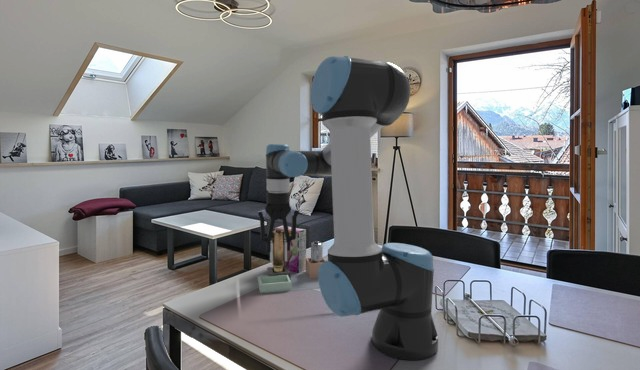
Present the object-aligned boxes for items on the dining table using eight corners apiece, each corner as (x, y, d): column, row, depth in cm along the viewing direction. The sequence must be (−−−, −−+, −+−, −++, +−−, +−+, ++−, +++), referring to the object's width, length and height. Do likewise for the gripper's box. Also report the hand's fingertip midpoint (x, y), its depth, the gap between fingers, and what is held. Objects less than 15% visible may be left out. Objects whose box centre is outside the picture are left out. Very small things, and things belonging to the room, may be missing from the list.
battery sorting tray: (336, 289, 120) (336, 271, 119) (260, 296, 114) (260, 277, 113) (323, 272, 135) (323, 256, 134) (256, 278, 129) (256, 261, 129)
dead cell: (323, 275, 129) (323, 242, 128) (312, 276, 128) (312, 243, 127) (320, 271, 133) (321, 239, 132) (309, 272, 132) (309, 240, 131)
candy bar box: (274, 271, 138) (273, 227, 136) (282, 267, 142) (282, 225, 140) (298, 277, 131) (298, 231, 130) (306, 273, 136) (306, 228, 134)
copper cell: (283, 261, 128) (283, 228, 127) (285, 265, 124) (285, 231, 123) (271, 262, 127) (271, 229, 126) (273, 266, 123) (272, 231, 122)
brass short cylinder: (284, 278, 125) (284, 265, 124) (273, 279, 124) (273, 266, 123) (283, 274, 128) (283, 262, 128) (272, 275, 127) (272, 262, 127)
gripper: (301, 189, 128) (301, 255, 131) (251, 190, 124) (252, 258, 127) (305, 192, 121) (305, 262, 124) (252, 193, 117) (253, 266, 120)
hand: (278, 260), depth 125 cm, fingers closed on copper cell, 4 cm apart
